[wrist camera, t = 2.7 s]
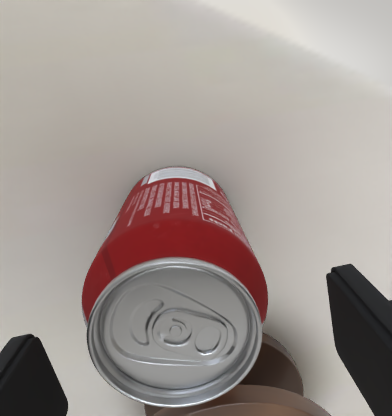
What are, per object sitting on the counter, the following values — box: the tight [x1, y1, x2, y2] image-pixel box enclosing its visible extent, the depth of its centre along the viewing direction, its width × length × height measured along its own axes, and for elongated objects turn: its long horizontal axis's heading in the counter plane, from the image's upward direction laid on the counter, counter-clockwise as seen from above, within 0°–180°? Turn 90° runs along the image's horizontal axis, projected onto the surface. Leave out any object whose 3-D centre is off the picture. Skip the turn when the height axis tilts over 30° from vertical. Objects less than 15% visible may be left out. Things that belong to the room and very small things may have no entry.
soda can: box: [82, 166, 268, 408], centre depth 16 cm, size 7×7×12 cm
